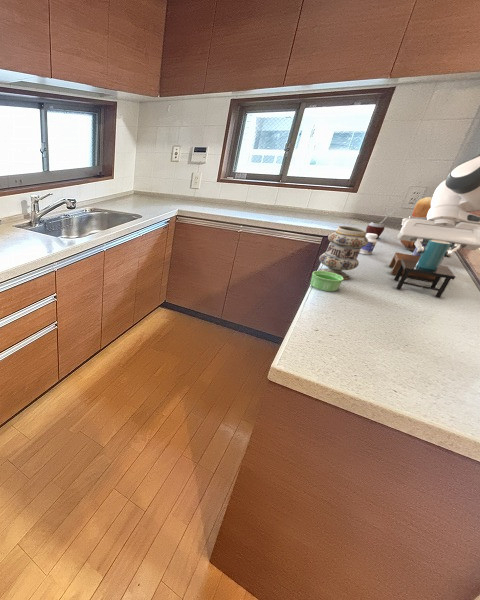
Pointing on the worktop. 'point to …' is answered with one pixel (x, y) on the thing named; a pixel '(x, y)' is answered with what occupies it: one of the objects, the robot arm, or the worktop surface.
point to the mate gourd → (376, 227)
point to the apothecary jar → (343, 250)
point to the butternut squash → (419, 211)
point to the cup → (433, 254)
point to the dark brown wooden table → (411, 267)
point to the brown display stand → (396, 265)
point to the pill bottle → (369, 244)
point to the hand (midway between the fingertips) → (434, 254)
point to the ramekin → (326, 280)
